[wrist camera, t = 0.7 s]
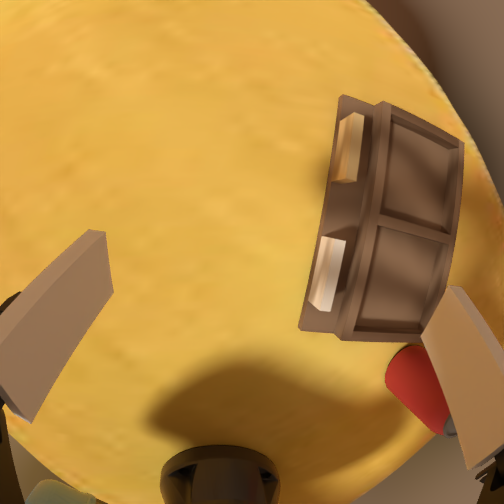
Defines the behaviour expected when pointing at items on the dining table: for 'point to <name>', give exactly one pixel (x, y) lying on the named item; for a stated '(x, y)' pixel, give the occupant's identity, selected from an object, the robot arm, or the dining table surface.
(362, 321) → the brown desk organizer
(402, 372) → the beer can
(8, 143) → the dining table surface
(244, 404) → the dining table surface
